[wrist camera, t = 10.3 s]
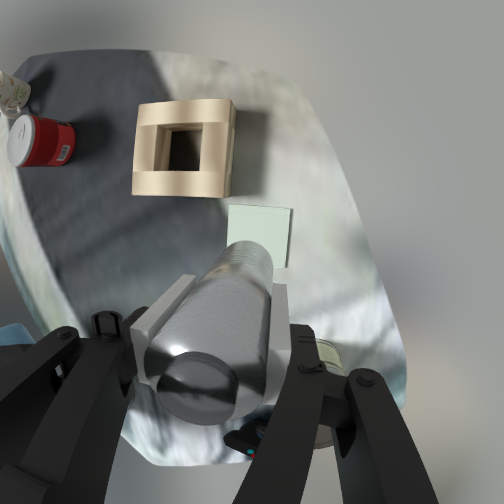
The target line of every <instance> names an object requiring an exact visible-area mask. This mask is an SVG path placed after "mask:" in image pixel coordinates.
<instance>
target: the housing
mask: <svg viewBox="0 0 504 504" xmlns="http://www.w3.org/2000/svg"><path fill="white" fill-rule="evenodd" d="M236 112H237V110H236V108H235V106H234V104H233V102H232V101H231V99H202V100H183V101H170V102H159V103H150V104H142V105H139V112H138V120H137V129H136V138H135V149H134V163H133V180H132V195H162V196H193V197H215V198H226V197H230V194H231V178H232V164H233V150H234V137H235V124H236ZM172 131H203V133H202V145H201V158H200V171H169V158H170V146H171V135H172Z"/></svg>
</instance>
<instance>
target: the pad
mask: <svg viewBox="0 0 504 504" xmlns="http://www.w3.org/2000/svg"><path fill="white" fill-rule="evenodd" d="M289 219H290V209H287V208H276V207H264V206H251V205H236V204H229V219H228V238H227V247H228V246H229V245H231V244H233V243H235V242H238V241H243V240H248V241H253V242H256V243H258V244H260V245H262V246H263V247H264V248H265V249H266V250H267V251H268V252H269V254H270V256H271V258H272V261H273V267H278V268H285V261H286V251H287V241H288V230H289Z"/></svg>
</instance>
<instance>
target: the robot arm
mask: <svg viewBox="0 0 504 504" xmlns="http://www.w3.org/2000/svg"><path fill="white" fill-rule="evenodd" d="M195 286H196V276H195V275H186V274H184V275H182V276H181V277H180V278H179V279H178V280H177V281H176V282H175V283H174V284H173V285H172V286H171V287H170V288H169V289H168V290H167V291H166V292H165V293H164V294H163V295H162V296H161V297H160V298H159V299H158V300H157V301H156V302H155V303H154V304H153V305H152V306H151V307H145V306H144V307H141V308H139V309H137V310H135V311H134V312H133V313H132V314H131V316H129V317H128V318H127V320H126V319H125V320H124V321H123V322H122V316H121V315H120V314H119V313H117V312H114V311H102V312H98V313H96V314H94V315H93V316H91V318H92V324H93V329H94V333H95V335H94V337H93V338H92V339H89V338H80V337H79V333H78V330H77V329H76V328H74V327H70V326H62V327H60V328H57V329H55V330H54V331H52V332H51V333H49V334H48V335H47V336H45V337H44V338H43V339H41V340H40V341H38V342H37V343H36V342H35V341H34V340H33V339H32V337H31V335H30V334H29V332H28V331H27V329H26V328H25V326H23V325H22V324H19V323H15V324H11V325H8V326H5V327H3V328H0V504H104V500H105V495H106V491H107V486H108V481H109V477H110V473H111V468H112V464H113V460H114V456H115V452H116V448H117V444H118V441H119V437H120V433H121V430H122V426H123V423H124V419H125V416H126V412H127V409H128V408H129V407H130V406H131V404H132V402H133V401H134V381H133V377H134V376H135V375H136V373H138V378H139V382H141V383H144V384H148V385H150V384H149V382H148V380H147V378H146V375H145V371H144V364H143V361H144V354H145V351H146V349H147V347H148V345H149V344H150V342H151V341H152V340H153V338H154V337H155V336H156V335H157V333H158V332H159V331H160V329H161V328H162V327H163V326H164V324H165V323H166V322H167V321H168V319H169V318H170V317H171V316H172V314H173V313H174V312H175V311H176V309H177V308H178V307H179V306H180V304H181V303H182V302H183V301H184V299H185V298H186V297H187V296H188V294H189V293H190V292H191V291H192V289H193V288H194V287H195ZM58 365H60V368H61V371H62V374H61V375H60V376H58V375H57V373H56V370H55V368H56V367H57V366H58ZM266 371H267V378H266V390H265V394H264V397H263V399H262V404H266V405H275V407H274V410H273V412H272V415H271V417H270V420H269V422H268V425H267V427H266V430H265V432H264V435H263V437H262V440H261V442H260V444H259V447H258V449H257V451H256V454H255V456H254V458H253V461H252V463H251V465H250V467H249V470H248V472H247V474H246V476H245V478H244V480H243V482H242V485H241V487H240V489H239V491H238V493H237V495H236V497H235V499H234V501H233V503H232V504H300V502H301V499H302V495H303V491H304V487H305V484H306V480H307V476H308V471H309V468H310V463H311V459H312V454H313V450H314V445H315V440H316V435H317V430H318V425H319V424H320V425H324V426H329V427H331V428H330V429H331V434H332V439H333V444H334V450H335V455H336V461H337V466H338V473H339V478H340V485H341V491H342V497H343V504H439V503H438V500H437V497H436V495H435V492H434V490H433V487H432V484H431V482H430V479H429V477H428V474H427V472H426V470H425V467H424V465H423V462H422V460H421V457H420V455H419V453H418V451H417V448H416V446H415V444H414V441H413V439H412V437H411V435H410V433H409V430H408V428H407V426H406V424H405V422H404V420H403V417H402V415H401V413H400V411H399V409H398V407H397V405H396V403H395V401H394V399H393V397H392V395H391V393H390V391H389V389H388V387H387V385H386V383H385V381H384V379H383V377H382V376H381V375H380V374H379V373H378V372H376V371H374V370H371V369H367V368H359V369H355V370H353V371H351V372H350V374H349V375H348V377H346V376H342V375H337V374H334V373H331V372H329V371H328V370H327V367H326V365H325V363H324V362H323V361H321V360H320V357H319V352H318V348H317V343H316V339H315V334H314V331H313V330H312V329H311V327H310V326H309V325H301V324H289V311H288V298H287V287H286V284H276V283H273V285H272V295H271V309H270V325H269V339H268V353H267V367H266Z"/></svg>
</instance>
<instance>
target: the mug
mask: <svg viewBox="0 0 504 504" xmlns="http://www.w3.org/2000/svg"><path fill="white" fill-rule="evenodd" d="M30 92H31V87H30V85H29V84H27V83H25V82H23V81H21V80H19V79H17V78H15V77H13V76H11V75H9V74H6V73H5V72H2V71H0V112H1V113H2V114H3V115H4V116H6V117H8V118H11V119H17V118H19V117H20V116H21V114H22V110H21V108H23V107H24V106H25V104H26V103H27V101H28V99H29V96H30ZM6 110H18V113H17V114H11V113H9V112H7V111H6Z"/></svg>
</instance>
